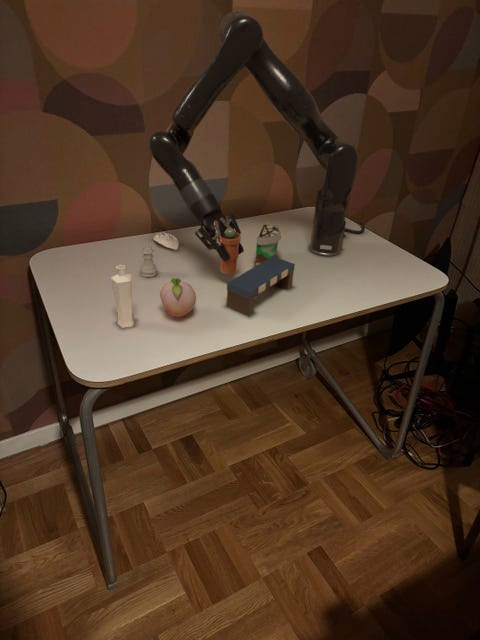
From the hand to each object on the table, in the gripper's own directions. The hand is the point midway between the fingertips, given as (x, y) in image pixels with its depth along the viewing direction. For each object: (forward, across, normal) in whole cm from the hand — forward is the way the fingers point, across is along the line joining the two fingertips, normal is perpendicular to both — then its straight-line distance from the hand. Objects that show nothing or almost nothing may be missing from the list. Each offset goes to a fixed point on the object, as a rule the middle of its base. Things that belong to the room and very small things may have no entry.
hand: (234, 256), depth 132 cm
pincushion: (-16, +6, +29) cm, 34 cm away
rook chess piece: (-9, -11, +22) cm, 26 cm away
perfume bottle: (+1, -31, +12) cm, 34 cm away
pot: (+2, 0, +5) cm, 5 cm away
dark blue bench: (+13, 0, 0) cm, 13 cm away
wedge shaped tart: (+6, +18, +7) cm, 20 cm away
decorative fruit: (+6, -20, +7) cm, 22 cm away
